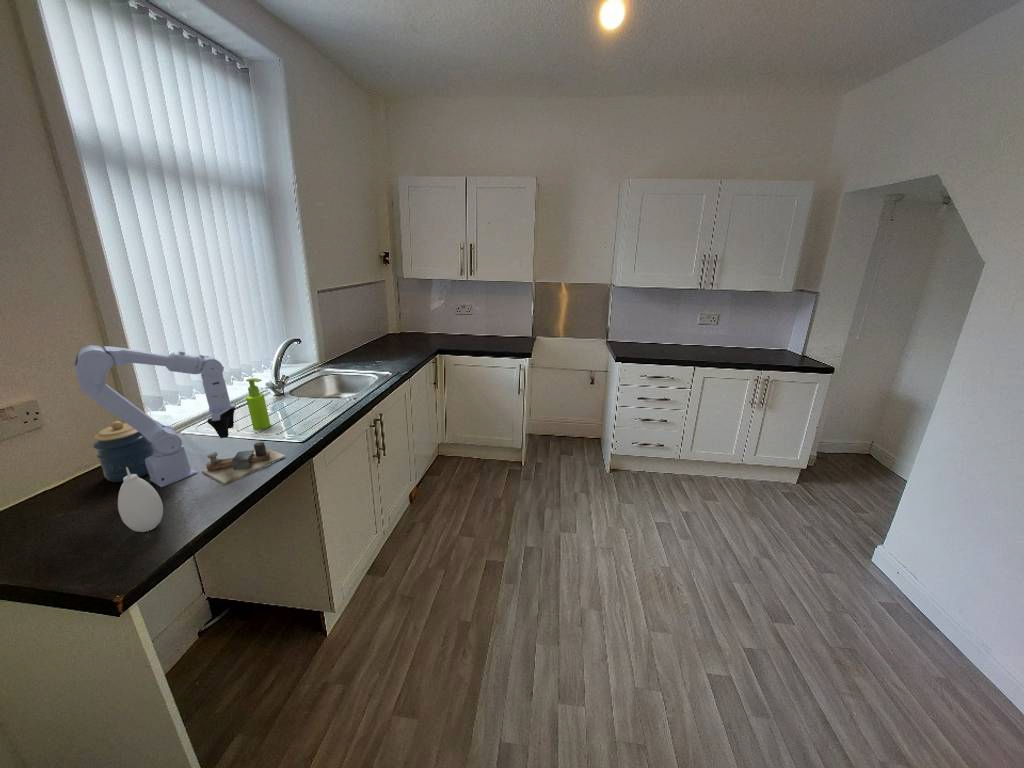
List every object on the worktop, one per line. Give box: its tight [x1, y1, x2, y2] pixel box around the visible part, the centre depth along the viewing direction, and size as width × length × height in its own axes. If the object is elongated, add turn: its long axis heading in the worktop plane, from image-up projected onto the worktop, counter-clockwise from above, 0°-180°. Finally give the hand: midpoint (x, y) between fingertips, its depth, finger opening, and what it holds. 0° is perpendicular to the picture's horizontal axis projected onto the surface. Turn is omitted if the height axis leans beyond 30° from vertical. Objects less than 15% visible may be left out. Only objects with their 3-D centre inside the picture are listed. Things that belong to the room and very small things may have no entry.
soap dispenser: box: [245, 377, 271, 431], centre depth 157 cm, size 6×7×20 cm
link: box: [205, 441, 270, 470], centre depth 130 cm, size 17×4×5 cm, turn 113°
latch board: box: [201, 446, 287, 485], centre depth 132 cm, size 19×14×1 cm
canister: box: [92, 420, 155, 483], centre depth 126 cm, size 13×13×18 cm
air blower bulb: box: [117, 467, 164, 533], centre depth 99 cm, size 8×8×18 cm
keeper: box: [231, 449, 254, 470], centre depth 130 cm, size 6×4×4 cm
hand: (227, 432), depth 134 cm, fingers open, 7 cm apart
